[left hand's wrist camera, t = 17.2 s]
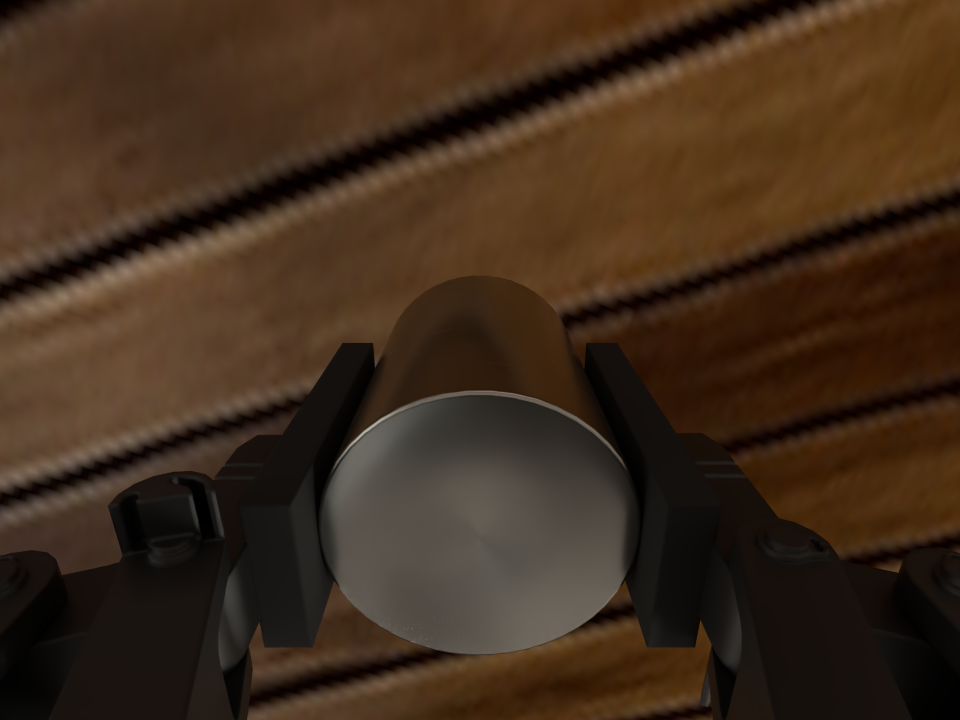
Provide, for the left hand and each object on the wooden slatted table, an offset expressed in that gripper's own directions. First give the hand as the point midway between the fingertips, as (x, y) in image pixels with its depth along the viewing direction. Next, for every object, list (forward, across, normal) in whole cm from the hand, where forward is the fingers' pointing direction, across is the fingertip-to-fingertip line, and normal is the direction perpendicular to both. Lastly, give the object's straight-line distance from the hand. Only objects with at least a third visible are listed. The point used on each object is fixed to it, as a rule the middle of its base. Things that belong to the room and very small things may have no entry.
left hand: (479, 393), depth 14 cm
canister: (+2, 0, 0) cm, 2 cm away
